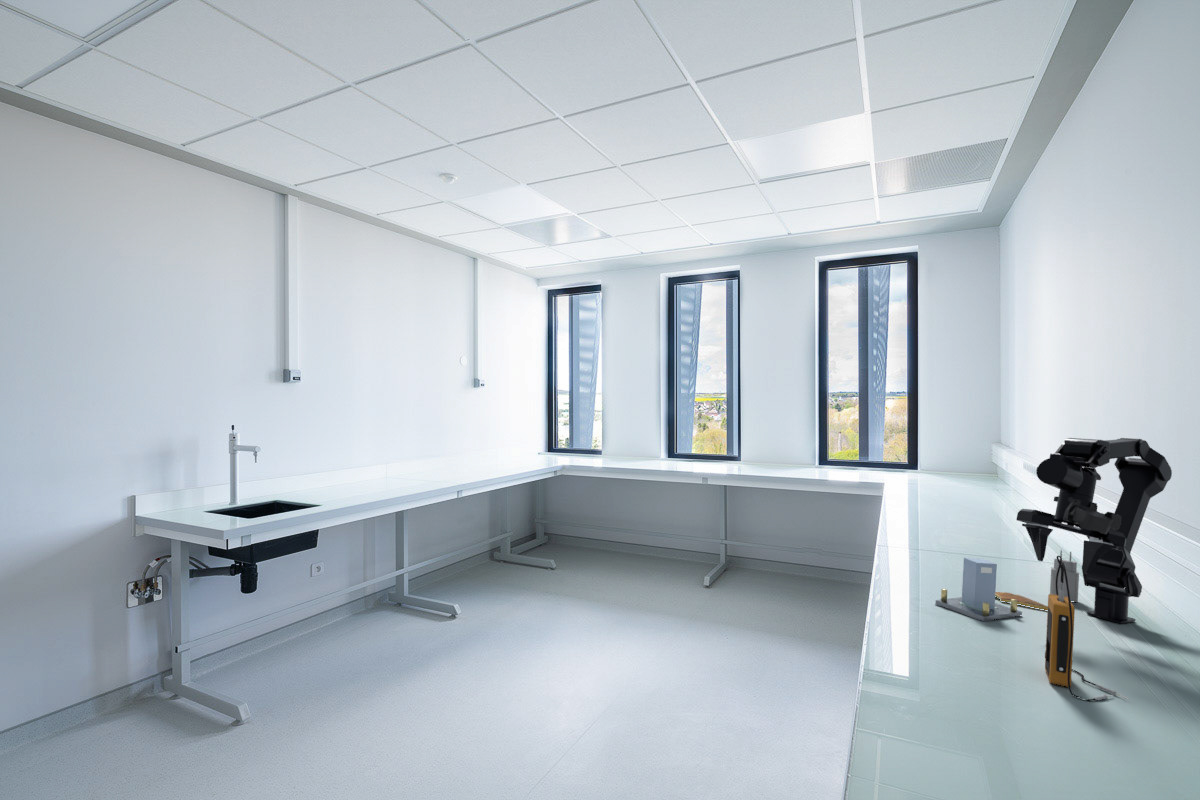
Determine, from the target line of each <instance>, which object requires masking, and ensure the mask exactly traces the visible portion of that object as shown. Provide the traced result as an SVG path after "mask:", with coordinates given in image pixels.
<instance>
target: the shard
mask: <svg viewBox="0 0 1200 800" xmlns="http://www.w3.org/2000/svg"><path fill="white" fill-rule="evenodd" d="M995 596H996V597H998V598H1000V599H1001V601H1005V602H1011V599H1015V600H1017V604H1021V605H1025V606H1030V607H1034V608H1039V609H1044V610H1048V605H1045V604H1043V603H1041V602H1039V601H1036V600H1033V599H1031V598H1028V597H1025V596H1022V595H1020V594H1015V593H1014V594H1013V593H1011V592H1006V591H1004V592H1003V591H1002V592H1000V591H995Z"/></svg>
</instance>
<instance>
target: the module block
mask: <svg viewBox="0 0 1200 800" xmlns="http://www.w3.org/2000/svg"><path fill="white" fill-rule="evenodd" d="M997 565H998V564H997V563H995V562H992V561H990V560H987V559H986V558H975V557H963V567H962V568H963V569H962V586H961V587H962V589H961V597H962V602H964V603H966V604H967V605H969V606H971V607H973V608H980V609H983V602H986V603H989V604H990V605H989V609H995V603H996V598H995V592H996V590H997V589H996V586H997V568H998V567H997Z"/></svg>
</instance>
